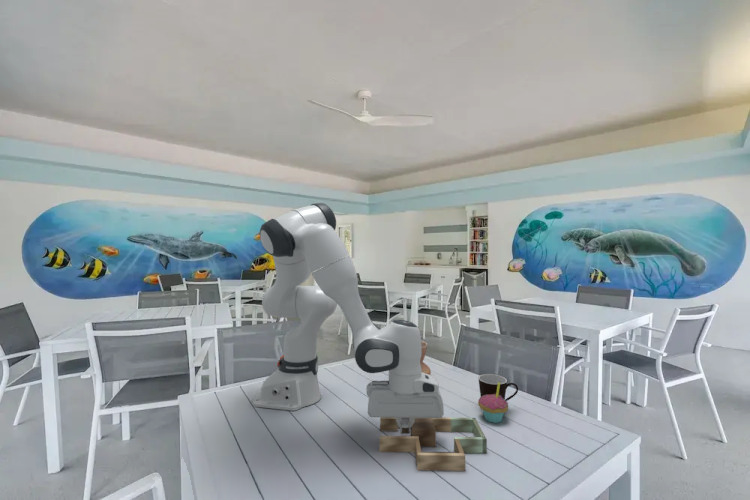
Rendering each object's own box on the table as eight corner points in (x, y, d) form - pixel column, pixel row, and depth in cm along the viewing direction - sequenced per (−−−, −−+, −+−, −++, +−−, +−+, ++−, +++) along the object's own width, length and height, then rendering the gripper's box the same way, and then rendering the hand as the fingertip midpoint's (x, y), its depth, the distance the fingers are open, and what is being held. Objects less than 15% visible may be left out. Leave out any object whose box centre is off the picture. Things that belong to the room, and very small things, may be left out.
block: (412, 446, 89) (412, 429, 89) (410, 434, 95) (410, 418, 95) (435, 447, 88) (435, 429, 88) (432, 434, 94) (432, 418, 94)
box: (378, 469, 79) (378, 454, 79) (380, 417, 104) (380, 405, 104) (495, 471, 79) (495, 456, 79) (469, 417, 104) (469, 406, 104)
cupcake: (507, 414, 105) (507, 376, 105) (508, 428, 97) (508, 386, 97) (478, 410, 108) (478, 373, 108) (477, 423, 100) (477, 382, 100)
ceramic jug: (396, 370, 145) (395, 337, 144) (430, 371, 143) (430, 338, 142) (391, 388, 127) (391, 350, 127) (431, 390, 125) (430, 351, 124)
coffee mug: (476, 413, 107) (475, 381, 107) (481, 402, 114) (481, 372, 114) (516, 421, 101) (515, 388, 101) (518, 409, 109) (518, 378, 109)
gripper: (365, 385, 89) (365, 438, 89) (444, 386, 88) (444, 439, 88) (367, 376, 95) (367, 426, 95) (440, 377, 94) (441, 427, 94)
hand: (405, 432), depth 91 cm, fingers closed
